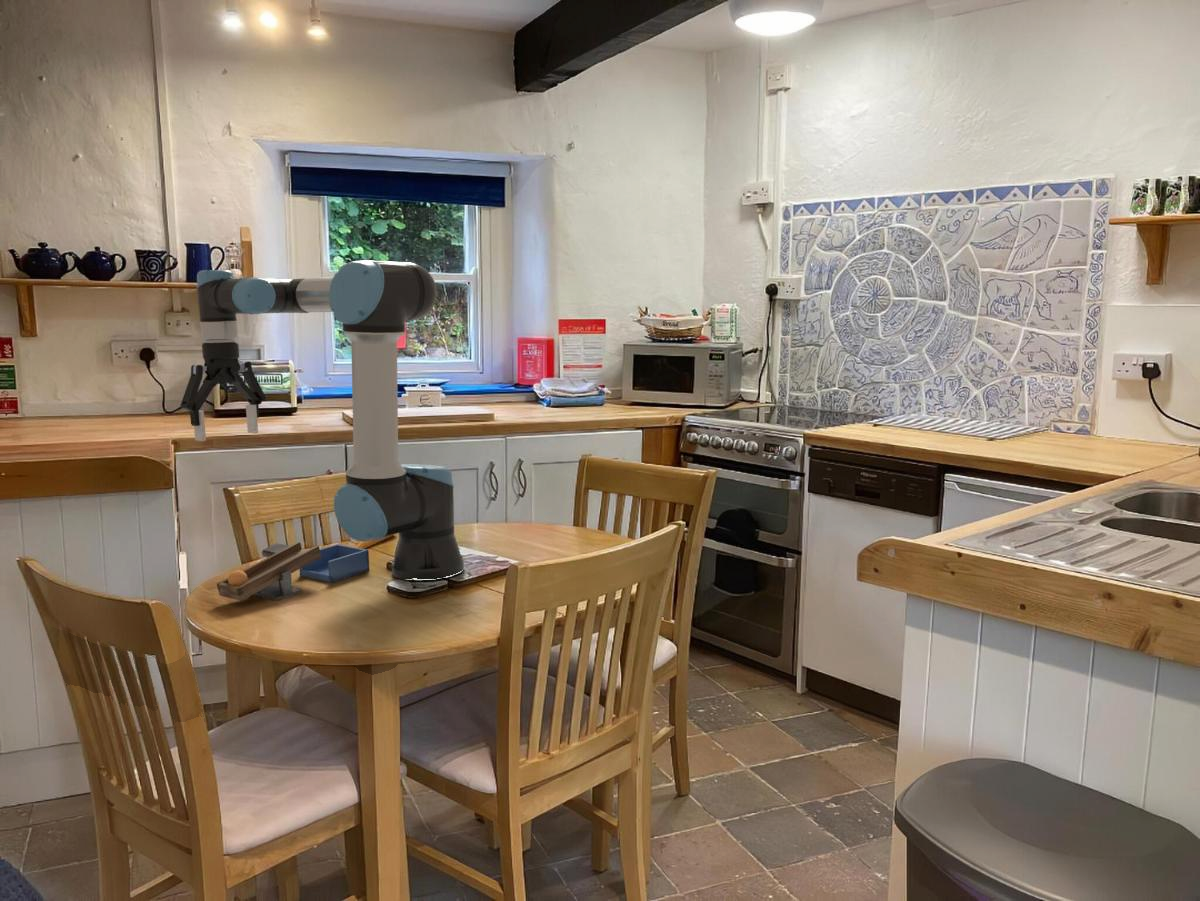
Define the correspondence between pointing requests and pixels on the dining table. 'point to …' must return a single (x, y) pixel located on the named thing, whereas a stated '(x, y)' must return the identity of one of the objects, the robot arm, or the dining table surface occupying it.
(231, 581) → the ball
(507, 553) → the dining table surface
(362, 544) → the carrot
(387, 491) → the robot arm
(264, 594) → the stand
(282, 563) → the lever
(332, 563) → the tray
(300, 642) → the dining table surface
